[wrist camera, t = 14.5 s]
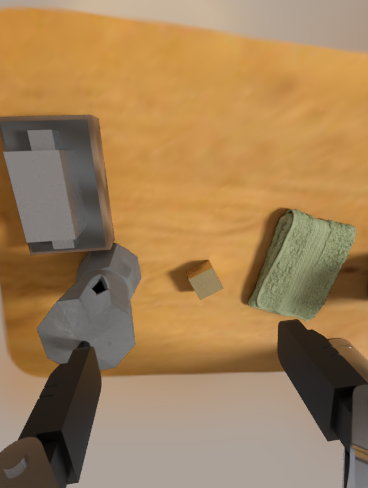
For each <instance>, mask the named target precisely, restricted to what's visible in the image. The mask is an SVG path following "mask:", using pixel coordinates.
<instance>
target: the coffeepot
mask: <svg viewBox="0 0 368 488" xmlns="http://www.w3.org/2000/svg"><path fill="white" fill-rule="evenodd" d="M140 280H141V274H140V267H139V263H138V257H137V256H135V255H134V254H133V253H131V252H130V251H129V250H127V249H126V248H124V247H122V246H120V245H119V244H113V245H112V247H111V249H110V250H98V251H89V252H88V254H87V255H86V256H85V258H84V259H83V261H82V262H81V263H80V265H79V268H78V273H77V277H76V282H75V284H74V285H73V286H72V287H71V288H70V289H69V290H68V291H67V292H66V293H65V294H64V295H63V296H62V297H61V298H60V299H59V300H58V301H57V302H56V303H55V305H54V306H53V307H52V309H51V310H50V311H49V313H48V314H47V315H46V317H45V318H44V319H43V321H42V322H41V324H40V325H39V326H38V328H37V331H38V333H39V336H40V339H41V341H42V344H43V347H44V349H45V352H46V355H47V358H48V359H50V360H52V361H54V362H56V363H59V364H63V363H67V362H68V360H69V358H70V356H71V353H72V351H73V350H74V349H77V348H84V347H92V346H93V347H94V349H95V352H96V357H97V361H98V365H99V369H100V370H104V369H110V368H115V367H116V366H117V365H118V364H119V363H120V361H121V360H122V359H123V358H124V357H125V356H126V354H127V353H128V352H129V351H130V350H131V349H132V347H133V346H134V345H135V336H134V327H133V317H132V308H131V302H130V299H131V298H132V296H133V294H134V292H135V290H136V288H137V286H138V284H139V282H140Z"/></svg>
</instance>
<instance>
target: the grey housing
mask: <svg viewBox="0 0 368 488" xmlns="http://www.w3.org/2000/svg"><path fill="white" fill-rule="evenodd" d="M27 132H28V136H29V141H30V145H31V150H32V151H14V152H3V153H4V157H5V161H6V165H7V169H8V173H9V176H10V180H11V184H12V188H13V192H14V196H15V200H16V203H17V207H18V211H19V215H20V219H21V223H22V227H23V230H24V234H25V238H26V242H27V243H29V242H44V241H52V244H53V248H54V249H65V248H75V247H76V245H77V244H78V243H79V239H78V236H79V235H80V234H81V233H82V232H83V230H84V229H85V228H86V227H87V224H86V218H85V212H84V206H83V200H82V195H81V189H80V183H79V177H78V171H77V165H76V159H75V154H74V150H62V148H61V143H60V137H59V132H58V131H56V130H27Z"/></svg>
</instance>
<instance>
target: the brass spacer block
mask: <svg viewBox="0 0 368 488" xmlns="http://www.w3.org/2000/svg"><path fill="white" fill-rule="evenodd" d="M186 272H187V276H188V280H189V281H190V283H191V285H192V287H193V288H194V290H195V292H196V294H197V295H198V297H199V299H200V300H201V299H203V298H205V297H207V296H209V295H211V294H213V293H215V292H217V291H219V290H221V289H223V286H222V284H221V282H220V280H219V278H218V276H217V274H216V273H215V271H214V269H213V267H212V265H211V263H210V261H209V260H208V261H206V262H204V263H202V264H200V265H198V266H196V267H194V268H192V269H190V270H188V271H186Z"/></svg>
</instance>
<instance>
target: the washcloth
mask: <svg viewBox="0 0 368 488" xmlns="http://www.w3.org/2000/svg"><path fill="white" fill-rule="evenodd" d="M355 234H356V230H355V227H354V226H352V225H350V224H343V223H338V222H334V221H332V220H330V221H329V219H328V220H325V221H324V220H321V219H317V218H313V217H312V216H311V215H308V214H307V213H306V214H305V213H304V212H301V211H300V210H296V209H289V210H288V211H287V212H286V213H285V214H284V215H283V216H282V217H281V218H280V219H279V222H278V225H277V227H276V229H275V234H274V237H273V239H272V244H271V246H270V247H269V249H268V252H267V256H266V259H265V263H264V266H262V270H260V271H261V272H260V275H259V280H258V281H257V283H256V284H257V285H256V286H255V287H256V289H255V290H254V291H253V294H252V296H251V298H250V299H249V300H248V305H249V306H251V307H253V308H257V309H262V310H265V311H269V312H272V313H275V314H278V315H284V316H288V317H289V316H293V317H297V318H301V319H303V320H305V321H310V320H311V319H312V318H314V317H315V316H316V314H317V313H318V311H319V310H320V309H321V308H322V305H324V304H325V301H326V298H327V297H328V296H327V295H328V293H330V292H329V291H330V290H331V288H332V285H333V284H334V282H335V280H336V276H337V275H338V273H339V271H340V269H341V268H342V267H341V266H342V264H343V263H344V262H345V261H346V259H347V256H348V255H349V251H350V249H351V246H352V244H353V243H354V239H355Z"/></svg>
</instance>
